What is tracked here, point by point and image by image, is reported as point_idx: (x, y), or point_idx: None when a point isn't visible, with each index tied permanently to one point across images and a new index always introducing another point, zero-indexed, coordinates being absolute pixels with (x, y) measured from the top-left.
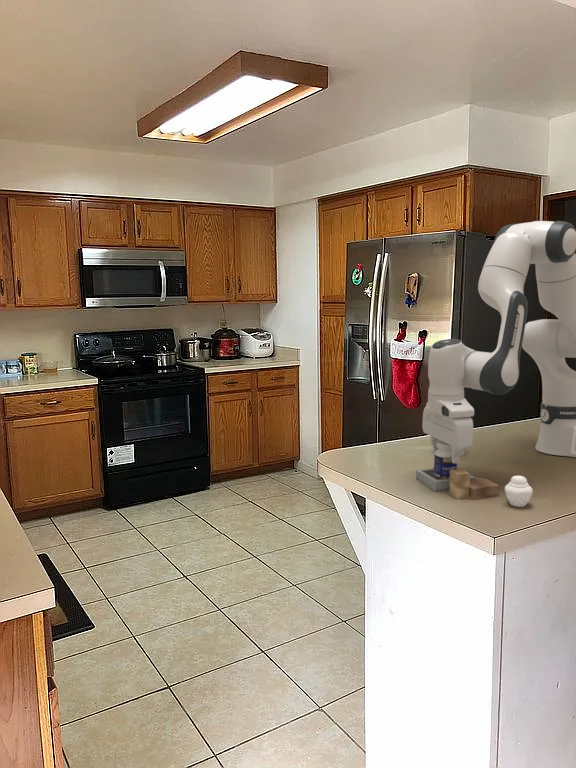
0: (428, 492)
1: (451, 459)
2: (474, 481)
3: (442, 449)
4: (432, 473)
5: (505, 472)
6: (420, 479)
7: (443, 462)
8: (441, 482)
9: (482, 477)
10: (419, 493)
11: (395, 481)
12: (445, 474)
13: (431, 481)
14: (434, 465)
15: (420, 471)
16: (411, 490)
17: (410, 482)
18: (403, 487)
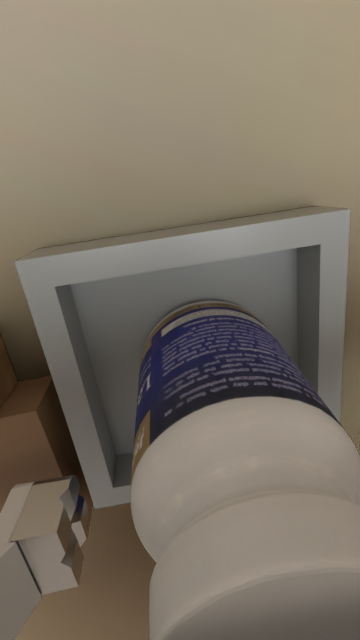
0: (32, 200)
1: (32, 502)
2: (10, 488)
3: (189, 525)
4: (306, 319)
5: None
6: (256, 217)
7: (147, 415)
8: (33, 306)
9: (87, 536)
10: (12, 126)
11: (320, 27)
12: (141, 372)
13: (85, 248)
14: (233, 338)
15: (304, 231)
16: (86, 86)
17: (264, 144)
18: (165, 43)
